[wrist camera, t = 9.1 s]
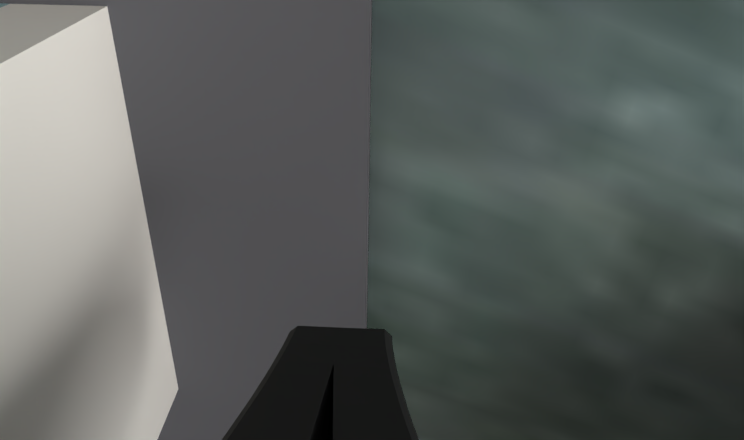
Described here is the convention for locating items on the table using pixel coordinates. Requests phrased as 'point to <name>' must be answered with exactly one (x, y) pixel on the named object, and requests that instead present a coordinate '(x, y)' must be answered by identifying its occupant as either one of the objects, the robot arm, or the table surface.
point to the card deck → (74, 240)
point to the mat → (247, 180)
